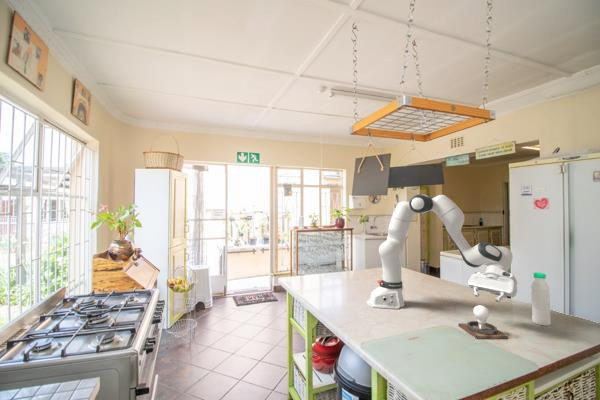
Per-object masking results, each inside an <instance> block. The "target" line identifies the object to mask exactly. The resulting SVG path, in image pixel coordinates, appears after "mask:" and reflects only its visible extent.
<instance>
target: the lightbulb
mask: <svg viewBox="0 0 600 400" xmlns="http://www.w3.org/2000/svg"><path fill="white" fill-rule="evenodd" d="M472 313H473V316H474V317H475V318H476V321H478V325H479V327H478V328H479V329H481V330H484V329H485V323H487V320H488V318H490V310H489V309H488V308H487V307H486V306H484V305H475V306H474V307H473V310H472Z"/></svg>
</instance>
